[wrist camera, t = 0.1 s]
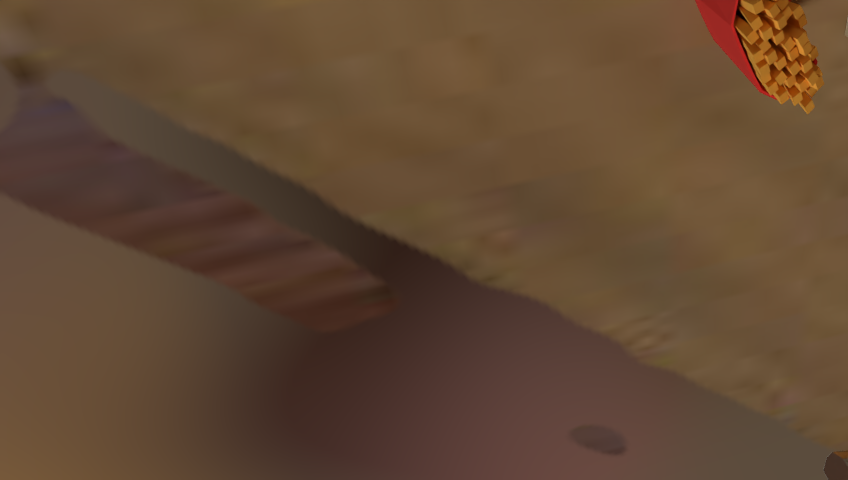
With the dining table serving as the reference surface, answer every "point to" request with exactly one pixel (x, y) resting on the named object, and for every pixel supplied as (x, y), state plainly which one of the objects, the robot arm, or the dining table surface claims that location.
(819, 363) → the dining table surface
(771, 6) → the french fries
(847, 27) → the caddy
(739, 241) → the dining table surface
